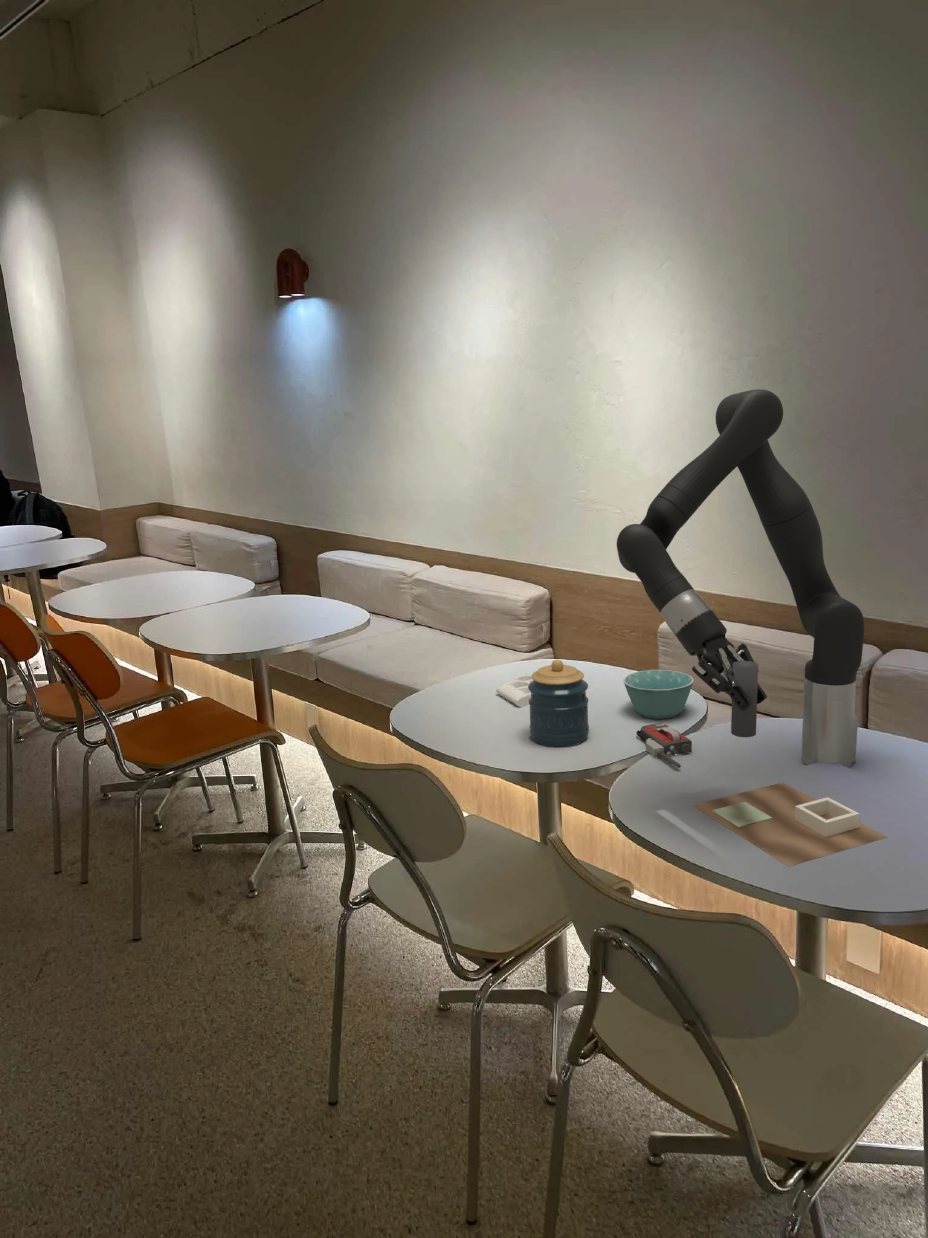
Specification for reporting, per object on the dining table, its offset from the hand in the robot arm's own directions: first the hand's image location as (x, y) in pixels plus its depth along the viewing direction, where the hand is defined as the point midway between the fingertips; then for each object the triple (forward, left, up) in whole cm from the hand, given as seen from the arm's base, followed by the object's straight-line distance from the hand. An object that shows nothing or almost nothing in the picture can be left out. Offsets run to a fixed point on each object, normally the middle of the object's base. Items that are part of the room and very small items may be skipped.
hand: (754, 704), depth 148 cm
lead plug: (+1, -2, -6) cm, 6 cm away
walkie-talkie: (-7, -34, -23) cm, 42 cm away
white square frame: (-9, +7, -21) cm, 24 cm away
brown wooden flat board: (-4, +3, -22) cm, 23 cm away
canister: (+9, -53, -22) cm, 58 cm away
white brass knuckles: (+1, -80, -23) cm, 83 cm away
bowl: (-18, -55, -22) cm, 62 cm away
